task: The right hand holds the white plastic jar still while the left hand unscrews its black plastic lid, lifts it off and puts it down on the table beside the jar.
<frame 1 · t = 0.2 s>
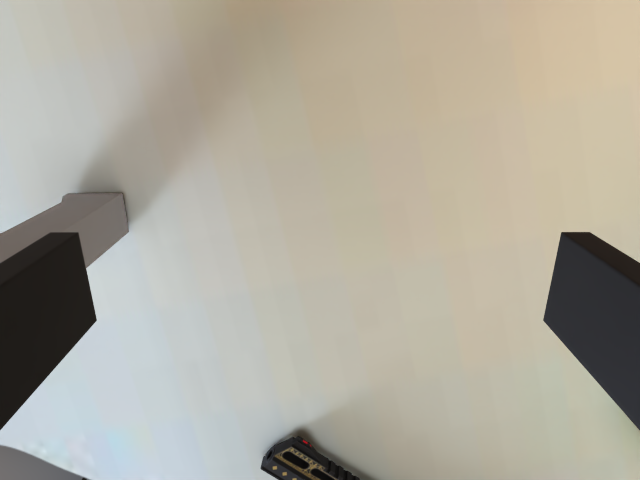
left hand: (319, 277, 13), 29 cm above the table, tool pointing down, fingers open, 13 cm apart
vintage mobile phone: (101, 211, 42), on the table
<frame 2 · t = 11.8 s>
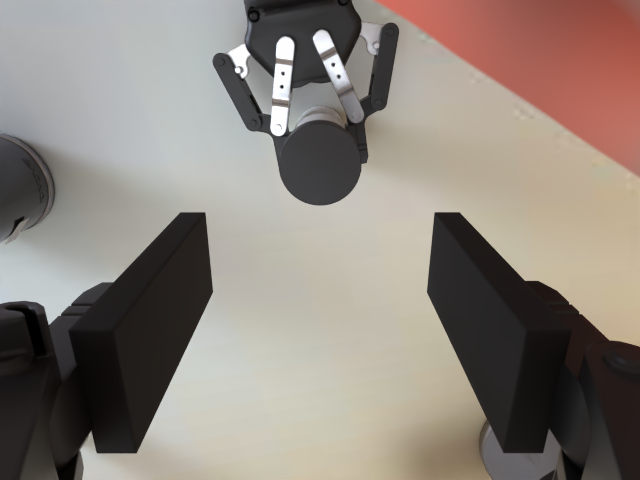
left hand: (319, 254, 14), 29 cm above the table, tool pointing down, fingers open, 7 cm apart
right hand: (325, 173, 36), fingers closed on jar, 4 cm apart
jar: (320, 130, 41), on the table, touching right hand
lid: (320, 164, 27), point 15 cm above the table, screwed on, not yet turned
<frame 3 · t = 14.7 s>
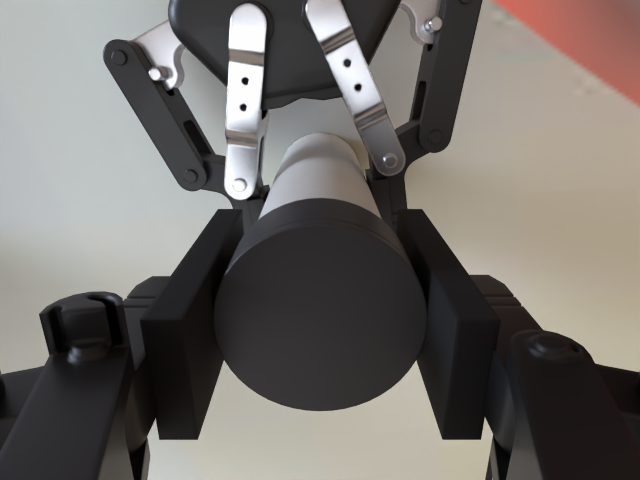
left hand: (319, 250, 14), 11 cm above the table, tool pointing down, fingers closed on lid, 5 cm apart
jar: (320, 172, 25), on the table, touching right hand
lid: (320, 318, 10), point 15 cm above the table, screwed on, not yet turned, touching left hand
when the left hand's fingers open (11 cm above the table, at t = 15.8 s): lid stays where it is, point 16 cm above the table.
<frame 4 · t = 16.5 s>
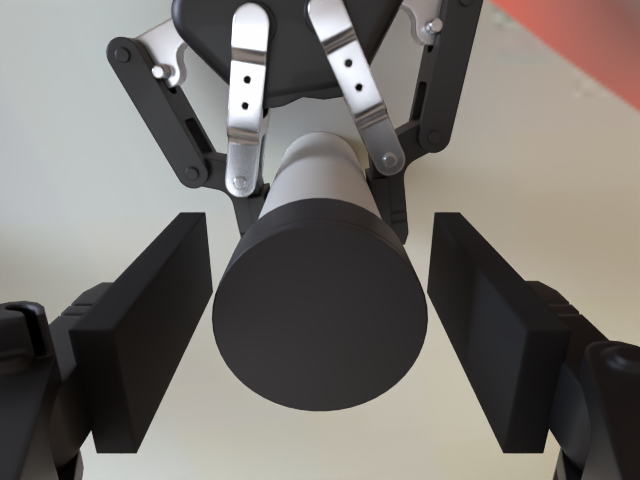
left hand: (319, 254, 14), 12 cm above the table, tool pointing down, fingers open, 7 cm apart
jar: (319, 171, 25), on the table, touching right hand
lid: (319, 318, 10), point 16 cm above the table, turned 65° so far, risen 0.2 cm, still on its thread
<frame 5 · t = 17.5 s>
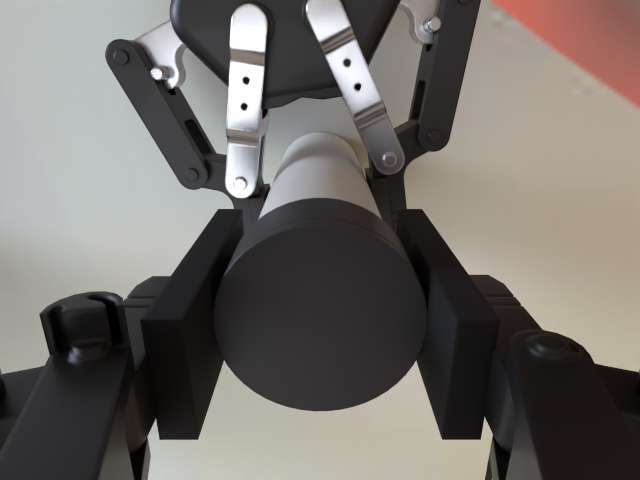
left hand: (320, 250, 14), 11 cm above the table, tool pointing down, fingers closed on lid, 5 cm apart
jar: (320, 171, 25), on the table, touching right hand
lid: (320, 318, 10), point 16 cm above the table, turned 65° so far, risen 0.2 cm, still on its thread, touching left hand
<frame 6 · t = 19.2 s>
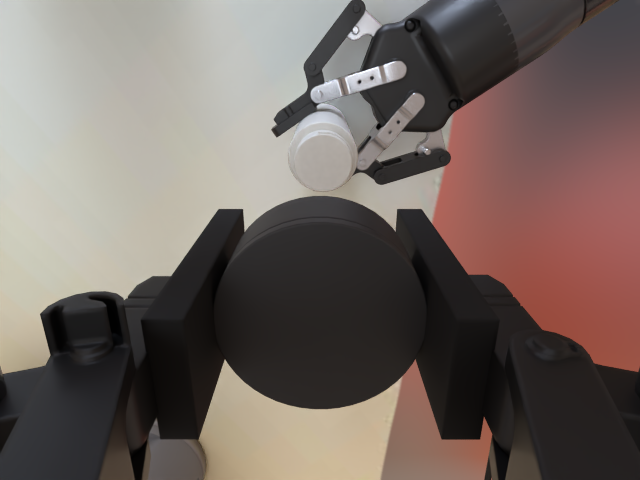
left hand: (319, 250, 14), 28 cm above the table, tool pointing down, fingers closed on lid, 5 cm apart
right hand: (294, 158, 35), fingers closed on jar, 4 cm apart
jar: (322, 128, 40), on the table, touching right hand
lid: (320, 316, 10), point 32 cm above the table, off its thread, touching left hand
when the left hand's fingers open (0 cm above the table, at t = 26.3 s): lid drops 3 cm, point 2 cm above the table.
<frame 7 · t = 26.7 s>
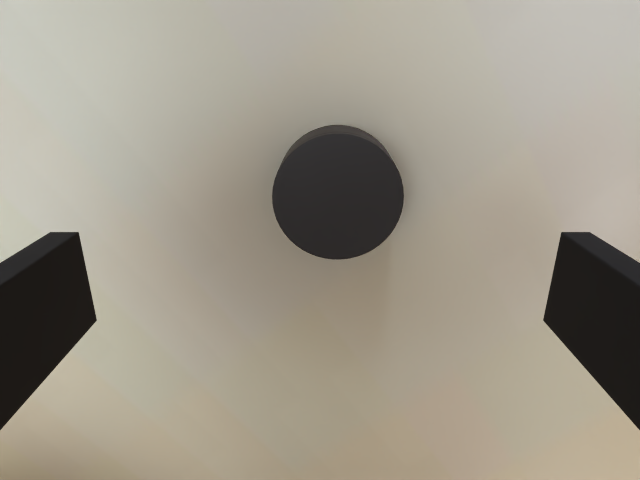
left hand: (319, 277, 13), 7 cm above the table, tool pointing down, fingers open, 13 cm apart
lid: (337, 197, 17), point 2 cm above the table, off its thread
when the right hand's fingers open (6 cm above the table, at t = 26.8 s): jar stays where it is, on the table.
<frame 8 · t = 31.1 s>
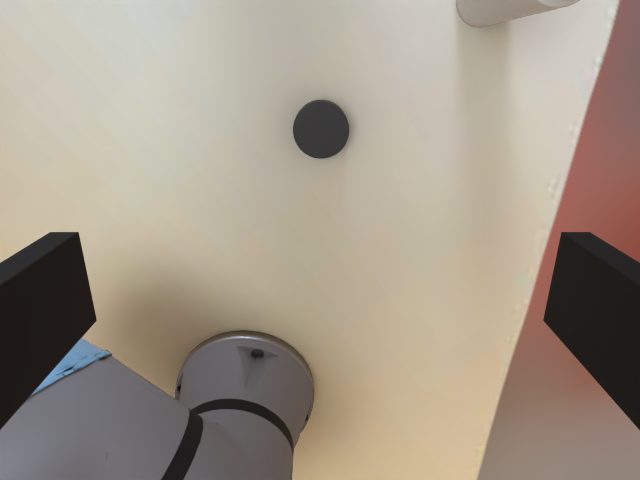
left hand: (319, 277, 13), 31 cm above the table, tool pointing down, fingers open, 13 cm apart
lid: (321, 130, 39), point 2 cm above the table, off its thread
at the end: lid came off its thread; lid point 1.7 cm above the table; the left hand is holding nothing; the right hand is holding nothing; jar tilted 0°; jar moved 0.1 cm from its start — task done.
